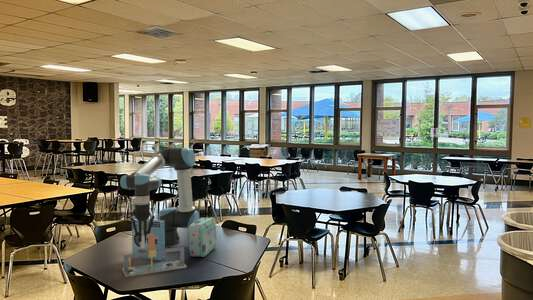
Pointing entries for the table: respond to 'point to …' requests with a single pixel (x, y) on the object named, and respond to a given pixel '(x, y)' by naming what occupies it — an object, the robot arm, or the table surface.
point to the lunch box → (202, 237)
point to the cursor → (151, 247)
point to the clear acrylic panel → (126, 256)
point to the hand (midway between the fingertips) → (142, 247)
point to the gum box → (159, 239)
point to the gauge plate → (154, 268)
